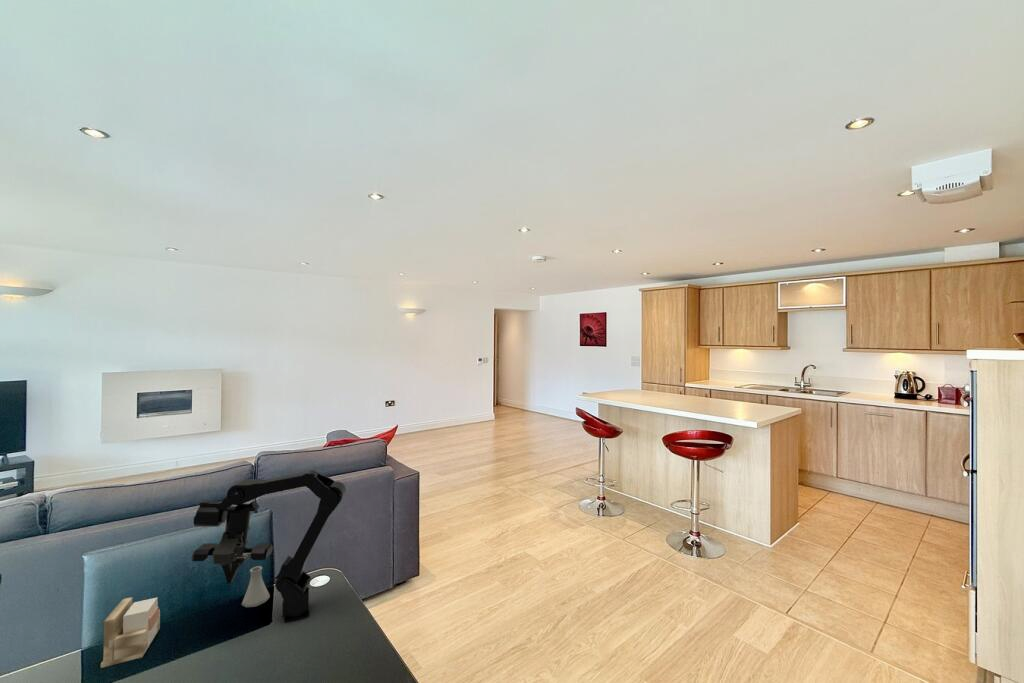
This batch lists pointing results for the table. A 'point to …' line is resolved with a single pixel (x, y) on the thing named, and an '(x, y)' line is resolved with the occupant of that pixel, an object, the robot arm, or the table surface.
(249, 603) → the flask
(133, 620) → the white box
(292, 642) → the table surface
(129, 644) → the beige toy armchair
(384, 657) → the table surface
